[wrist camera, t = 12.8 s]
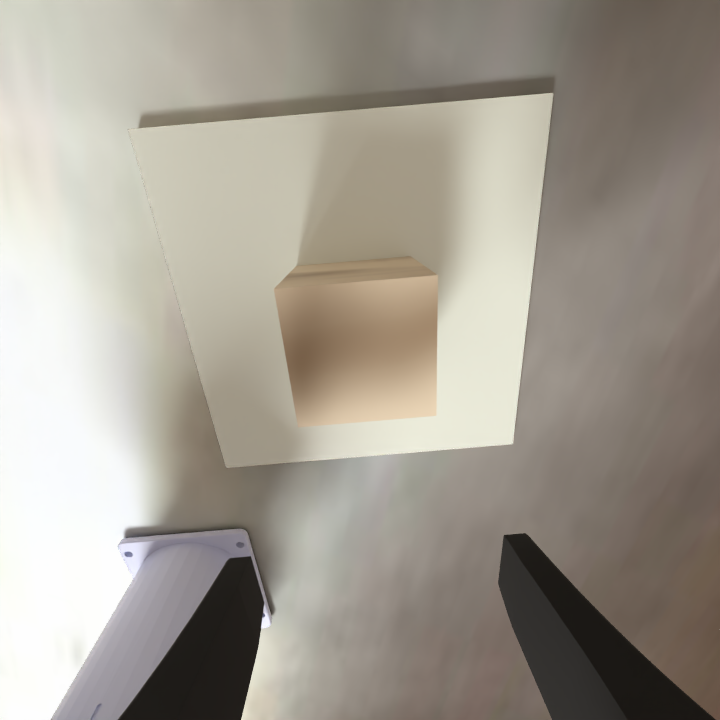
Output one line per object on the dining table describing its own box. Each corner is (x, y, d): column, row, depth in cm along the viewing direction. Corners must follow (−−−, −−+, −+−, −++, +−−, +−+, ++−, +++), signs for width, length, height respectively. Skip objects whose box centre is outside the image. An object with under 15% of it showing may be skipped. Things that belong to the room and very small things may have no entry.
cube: (412, 361, 17) (436, 415, 12) (311, 369, 17) (298, 427, 12) (410, 256, 15) (438, 274, 10) (296, 265, 15) (273, 288, 10)
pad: (508, 437, 20) (512, 444, 19) (229, 460, 20) (226, 468, 19) (545, 97, 13) (553, 92, 13) (136, 132, 14) (127, 129, 13)
